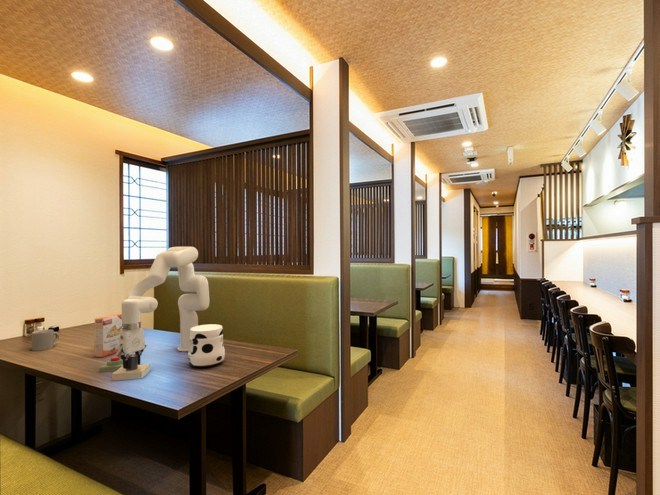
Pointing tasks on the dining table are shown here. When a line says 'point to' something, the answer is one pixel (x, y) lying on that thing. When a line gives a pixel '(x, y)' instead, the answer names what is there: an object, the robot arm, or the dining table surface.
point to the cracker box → (107, 334)
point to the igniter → (111, 365)
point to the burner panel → (131, 373)
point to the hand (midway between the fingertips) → (131, 366)
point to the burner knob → (133, 361)
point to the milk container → (206, 345)
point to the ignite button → (114, 358)
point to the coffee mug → (43, 339)
